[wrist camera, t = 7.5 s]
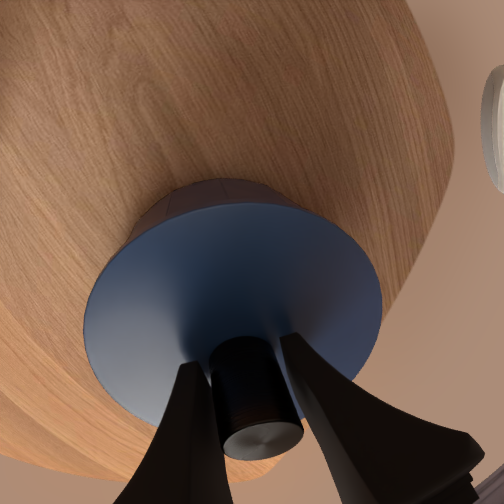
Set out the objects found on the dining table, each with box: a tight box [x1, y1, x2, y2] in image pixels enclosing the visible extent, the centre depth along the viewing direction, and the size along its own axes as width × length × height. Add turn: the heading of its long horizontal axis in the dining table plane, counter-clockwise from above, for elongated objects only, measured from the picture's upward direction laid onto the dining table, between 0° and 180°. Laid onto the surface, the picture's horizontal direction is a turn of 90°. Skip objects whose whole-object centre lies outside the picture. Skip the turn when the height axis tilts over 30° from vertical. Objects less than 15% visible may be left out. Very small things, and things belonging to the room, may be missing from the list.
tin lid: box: [83, 198, 382, 461], centre depth 9 cm, size 11×11×5 cm
